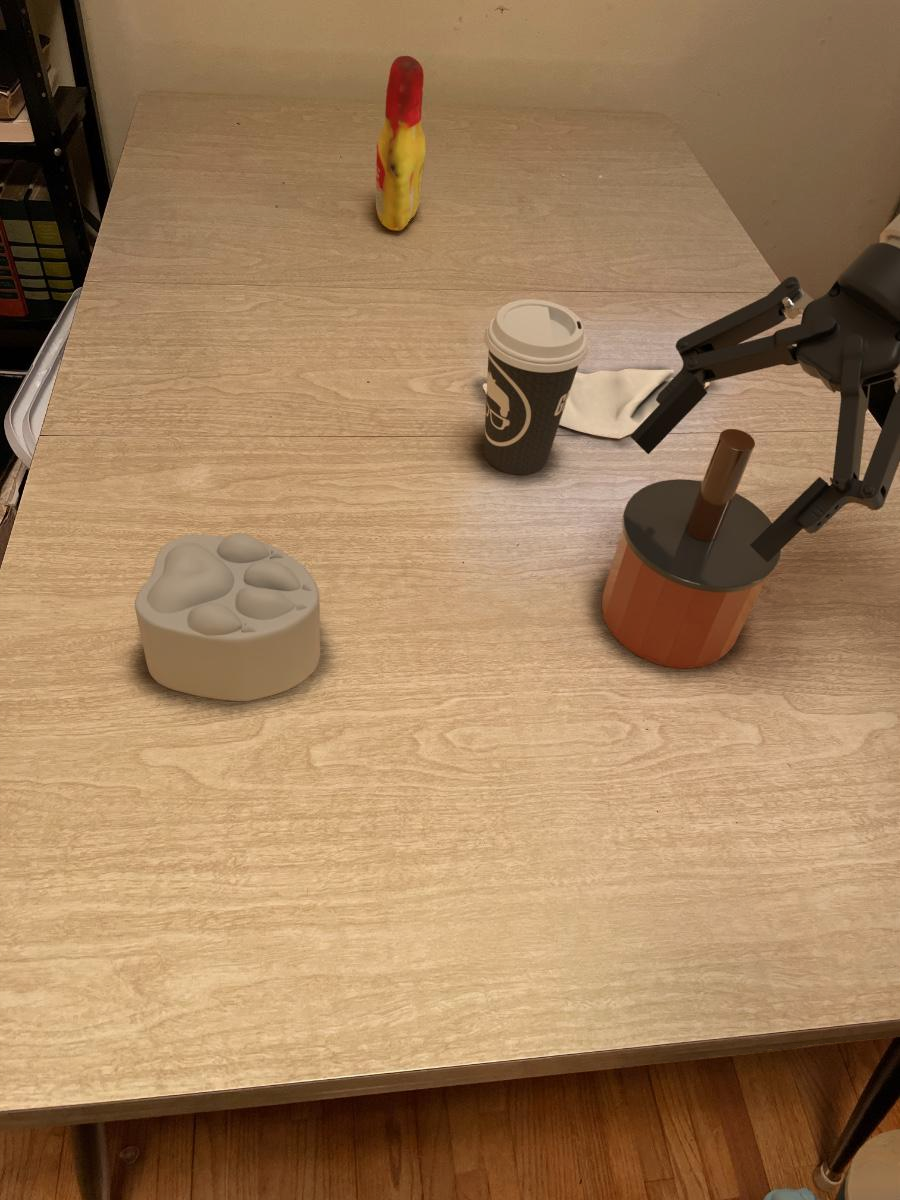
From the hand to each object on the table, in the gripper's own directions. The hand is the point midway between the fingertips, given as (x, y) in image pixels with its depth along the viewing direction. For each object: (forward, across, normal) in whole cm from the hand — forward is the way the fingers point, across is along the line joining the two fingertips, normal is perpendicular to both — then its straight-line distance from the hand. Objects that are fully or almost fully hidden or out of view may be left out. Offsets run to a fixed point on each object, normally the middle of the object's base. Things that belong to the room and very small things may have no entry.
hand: (695, 497), depth 72 cm
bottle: (-1, +74, -22) cm, 77 cm away
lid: (+2, 0, -5) cm, 6 cm away
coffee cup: (+8, +24, -12) cm, 29 cm away
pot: (+9, 0, -12) cm, 15 cm away
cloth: (-1, +28, -22) cm, 36 cm away
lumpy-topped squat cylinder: (+33, +13, +12) cm, 37 cm away
